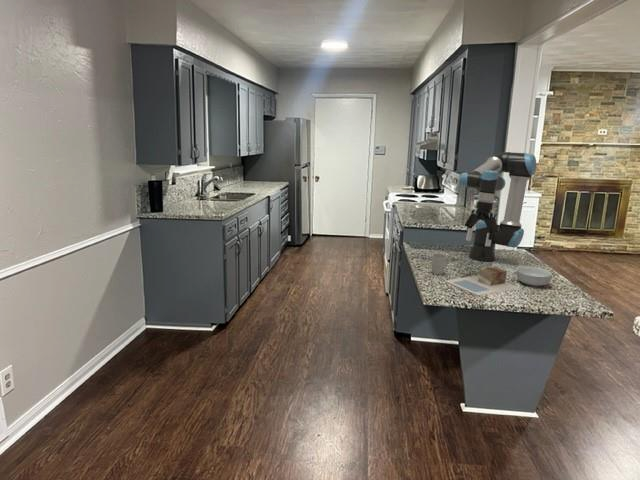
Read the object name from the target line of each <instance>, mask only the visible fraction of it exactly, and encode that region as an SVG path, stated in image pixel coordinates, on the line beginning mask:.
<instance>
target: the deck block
mask: <svg viewBox="0 0 640 480" xmlns="http://www.w3.org/2000/svg"><path fill="white" fill-rule="evenodd" d="M507 273H508V271H507V270H505V269H502V268H499V267H497V266H495V267H493V266H492V267H487V268H482V269H481V268H480V269H479V271H478V275H479V277H478V282H480V283H482V284H485V285H487V286H492V285H498V284H503V283H505V282H506V279H507Z"/></svg>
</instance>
